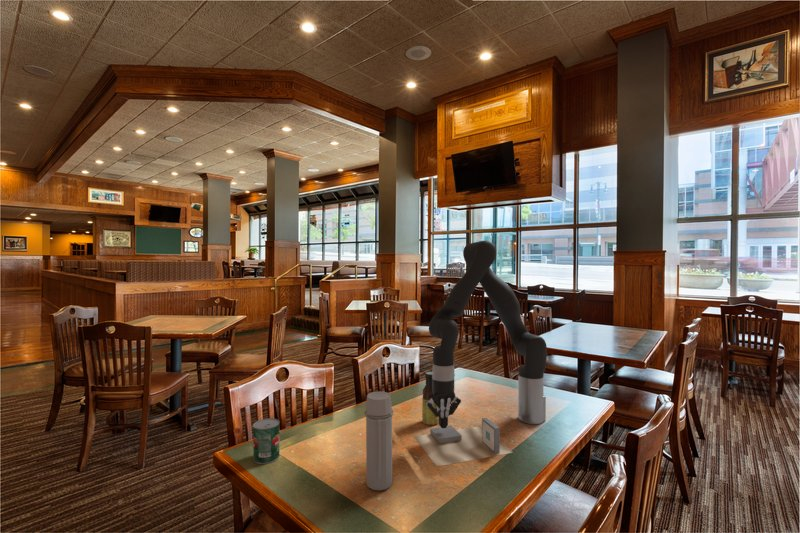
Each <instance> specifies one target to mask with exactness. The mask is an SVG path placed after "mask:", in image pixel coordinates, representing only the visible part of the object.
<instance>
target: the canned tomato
mask: <svg viewBox="0 0 800 533" xmlns="http://www.w3.org/2000/svg"><path fill="white" fill-rule="evenodd" d="M252 435H253V437H252V441H253V443H252V444H253V445H252V446H253V447H252V449H253V450H252V451H253V458H252V460H253V463H255V464H258V465H267V464H271V463H273V462H275V461H277V460H278V459H279V458H280V456H281V455H280V454H281V453H280V450H281V449H280V420H279V419H277V418H273V417H267V418H261V419H259V420H256V421H255V422H254V423H253V424H252Z"/></svg>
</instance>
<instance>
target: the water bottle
mask: <svg viewBox="0 0 800 533" xmlns="http://www.w3.org/2000/svg"><path fill="white" fill-rule="evenodd" d="M391 398H392V397H391V394H390V393H389V392H386V391H380V390H379V391H372V392H370V393H369V392H368V394H366V402H365V410H364V416H365V417H366V418H365V422H366V423H365V425H366V426H365V427H366V428H365V434H366V435H365V437H366V438H365V439H366V443H365V444H366V446H365V447H366V449H365V450H366V452H365V453H366V455H365V457H366V462H365V463H366V465H365V466H366V485H367V486H368V488H369V489H371V490H373V491H377V492H381V491H386V490H387V489H389V488H390V487H391V485H392V484H393V416H394V410H393V408H392V407H393V406H392V400H391Z"/></svg>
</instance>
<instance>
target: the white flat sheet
mask: <svg viewBox="0 0 800 533" xmlns="http://www.w3.org/2000/svg"><path fill="white" fill-rule="evenodd" d="M455 430H456V431H457V432H458V433H460V434H461V435H462V440H459V441H453V442H447V443H441V444H439V442H438V441H437V440H436V439H435V438H434V437H433V436H432V435H431V433H428V434H427V433H426V434H421V435H413V437H414V440H416V442H417V443H418V444H419V446H420V447H421V448H422V449H423V451H424V452H425V453H426V455H428V457H429V458H430V459H431V461H432V462H433V464H434V465H435V466H436V467H442V466H447V465H448V466H449V465H453V464H458V463H463V462H470V461H475V460H481V459H485V458H490V457H496V456H502V455H507V454H513V453H514V452H513V451H512V450H510V448H508V447H507V446H506V445H505V444H503V443H502V442H501V441H500V453H497V454H495V453H494V452H493V451H491V450H490V449H489V448H488V447H487V446H486V445H485V444H484V443H482V425H480V426H473V427H467V428H466V427H465V428H460V429H455Z"/></svg>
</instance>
